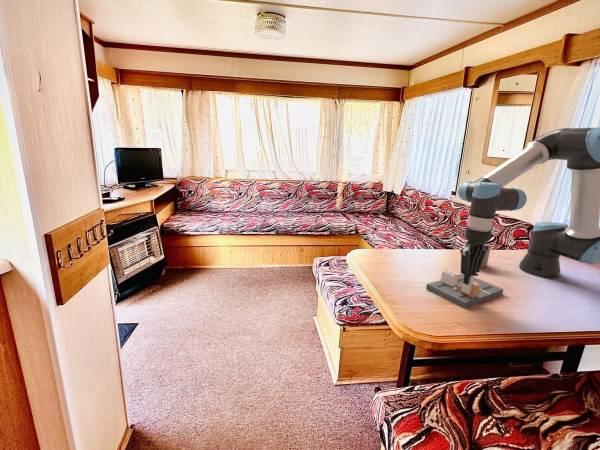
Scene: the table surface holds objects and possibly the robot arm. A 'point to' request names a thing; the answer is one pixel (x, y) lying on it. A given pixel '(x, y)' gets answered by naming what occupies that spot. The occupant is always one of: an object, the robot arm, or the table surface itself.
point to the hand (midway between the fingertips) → (466, 291)
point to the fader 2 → (472, 290)
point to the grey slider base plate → (460, 298)
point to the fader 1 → (449, 277)
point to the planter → (484, 257)
